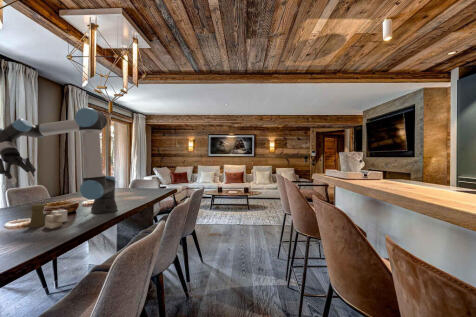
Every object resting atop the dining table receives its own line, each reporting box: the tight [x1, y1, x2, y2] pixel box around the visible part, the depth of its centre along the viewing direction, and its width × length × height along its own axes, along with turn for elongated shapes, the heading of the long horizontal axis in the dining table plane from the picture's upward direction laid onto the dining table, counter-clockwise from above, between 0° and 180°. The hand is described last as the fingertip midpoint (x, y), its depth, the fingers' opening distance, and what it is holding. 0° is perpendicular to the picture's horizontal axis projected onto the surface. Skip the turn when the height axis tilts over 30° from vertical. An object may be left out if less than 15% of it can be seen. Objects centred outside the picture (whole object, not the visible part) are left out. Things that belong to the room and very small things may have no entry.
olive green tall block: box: [29, 203, 45, 228], centre depth 117 cm, size 6×6×11 cm
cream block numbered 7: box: [50, 209, 68, 223], centre depth 125 cm, size 5×5×6 cm
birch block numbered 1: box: [44, 213, 63, 229], centre depth 116 cm, size 5×5×6 cm
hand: (24, 182), depth 122 cm, fingers open, 7 cm apart
